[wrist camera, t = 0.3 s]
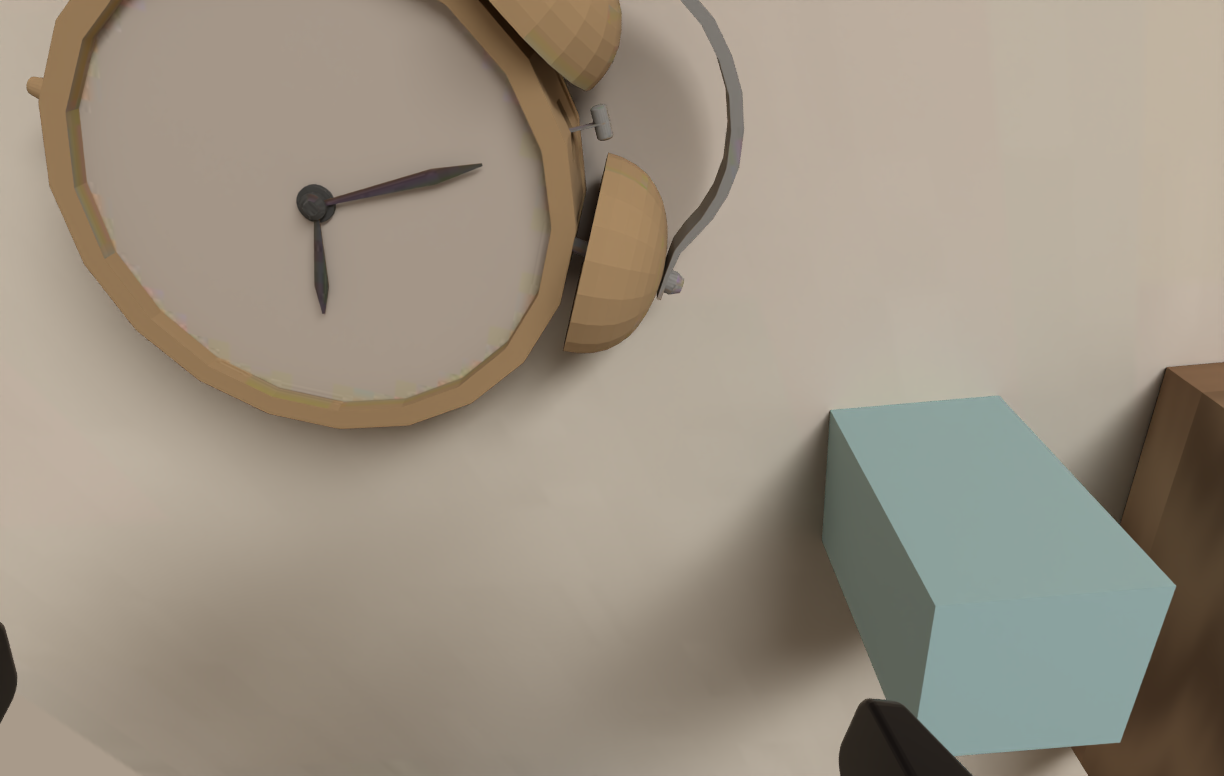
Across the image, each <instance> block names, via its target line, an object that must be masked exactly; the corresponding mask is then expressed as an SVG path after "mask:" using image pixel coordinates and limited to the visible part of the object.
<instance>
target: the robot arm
mask: <svg viewBox="0 0 1224 776" xmlns="http://www.w3.org/2000/svg"><path fill="white" fill-rule="evenodd" d="M16 687H17V672H16V668H15V664H14V660H13V656H12V653H11V649H10V645H9V641H8V637H7V633H6V630H5V627H4V625H3V624H2V623H1V622H0V723H1V721H2V719H3V717H4V715H5V713H6V711H7V710H8V708H9V706H10V703H11V702H12V699H13V697H14V694H15V691H16ZM839 770H840V776H972V774H971V773H970V772H969V771H968V770H967V769H966V768H965V767H964V766H963V765H962V764H961V763H960V762H959V761H958V760H957V759H956V758H955V757H954V756H953V755H952V754H951V753H950V752H949V751H948V750H947V749H946V748H945V747H944V746H943V745H942V744H941V742H940V741H939V740H938V739H937V738H936V737H935V736H934V735H933V734H932V733H931V732H930V731H929V730H928V729H927V728H926V727H925V726H924V725H923V724H922V723H921V722H920V721H919V720H918V719H917V718H916V717H915V716H914V715H913V714H912V713H911V712H910V711H909V709H908V708H906V707H905V706H904V705H903V704H901V703H899V702H897V701H892V700H881V699H870V698H869V699H865V700H864V701H862V702H861V703H860V704H859V706H858V708H857V710H856V712H855V715H854V717H853V719H852V721H851V723H850V726H849V728H848V730H847V732H846V735H845V737H844V739H843V741H842V744H841V747H840V751H839Z"/></svg>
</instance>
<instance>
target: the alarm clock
mask: <svg viewBox="0 0 1224 776" xmlns="http://www.w3.org/2000/svg"><path fill="white" fill-rule="evenodd" d="M681 1H682V3H683V4H684V5H685V6H686V7H687V8H688V10H689V11H690V12H691V13H692V14H693V15H694V17H695V18H696V19H697V20H698V21H699V22H700V24H701V25H702V27H703V29H704V31H705V33H706V35H707V37H708V39H709V41H710V43H711V45H712V47H713V49H714V51H715V53H716V56H717V59H718V63H719V66H720V70H721V73H722V77H723V80H724V84H725V88H726V102H727V120H728V123H727V132H726V140H725V148H724V156H723V160H722V162H721V165H720V168H719V170H718V173H717V176H716V178H715V181H714V183H713V185H712V187H711V188H710V190H709V192H708V193H707V195H706V196H705V198H704V200H703V201H702V203H701V204H700V206H699V207H698V208H697V209H696V210H695V212H694V213H693V214H692V215H691V216H690V217H689V218H688V219H687V220H686V221H685V223H684V224H683V225H682V227H681V228H680V229H679V231H678V232H677V234H676V235H675V236H674V238H673V240H672V243H671V246H670V248H669V251H668V253H667V256H666V252H667V220H666V213H665V209H664V205H663V201H662V198H661V196H660V194H659V192H658V190H657V188H656V186H655V184H654V183H653V182H652V180H651V179H650V177H649V176H648V175H647V174H646V173H645V172H644V171H643V170H642V169H641V168H639V167H638V166H637V165H636V164H634V163H632V162H630V161H628V160H626V159H625V158H623V157H620V156H617V155H614V154H611V153H608V156H607V159H606V164H605V168H604V172H603V176H602V180H601V184H600V189H599V191H600V194H599V199H598V203H597V208H596V212H595V217H594V221H593V226H592V230H591V234H590V239H589V242H586V241H584V240H581V239H579V238H576V235H577V231H578V226H579V222H580V217H581V212H582V208H583V203H584V199H585V194H586V180H585V170H584V160H583V151H582V141H581V131H580V130H583V129H587V128H591V127H595V130H596V135H597V139H598V140H600V141H605V140H608V139H610V138H612V137H613V132H612V128H611V123H610V119H609V115H608V111H607V107H606V105H603V104H600V105H596V106H594V107H592V108H591V114H592V118H593V123H589V124H585V125H581V126H580V121H579V115H578V112H577V110H576V107H575V105H574V103H573V100H572V98H571V96H570V93H569V91H568V89H567V86H566V84H565V82H564V79H563V77H565V78H566V79H567V80H568V81H569V82H571V83H572V84H574V85H575V86H577V87H579V88H581V89H583V90H584V91H588V90H591V89H592V88H593V87H594V86H595V85H596V84H597V83H598V82H599V81H600V80H601V79H602V77H603V76H604V75H605V73H606V72H607V70H608V68H609V67H610V65H611V64H612V62H613V60H614V57H615V55H616V52H617V50H618V47H619V43H620V36H621V8H620V3H619V0H70V1H69V2H68V4H67V5H66V6H65V8H64V9H63V11H62V12H61V14H60V15H59V16H58V18H57V19H56V22H55V26H54V31H53V36H52V41H51V45H50V50H49V55H48V59H47V64H46V69H45V73H44V78H39V77H31V78H30V79H29V80H28V82H27V91H28V93H29V94H31V95H33V96H34V97H36V98H38V99H39V110H40V117H41V125H42V133H43V140H44V148H45V155H46V163H47V170H48V178H49V185H50V188H51V190H52V193H53V195H54V197H55V199H56V202H57V204H58V206H59V208H60V211H61V213H62V215H63V217H64V220H65V222H66V224H67V226H68V229H69V231H70V233H71V235H72V238H73V240H74V242H75V245H76V247H77V249H78V251H79V254H80V256H81V258H82V260H83V263H84V264H85V266H86V267H87V268H88V270H89V271H90V272H91V273H92V275H93V276H94V277H95V278H96V280H97V281H98V282H99V284H100V285H101V286H102V287H103V289H104V290H105V291H106V292H107V294H108V295H109V296H110V298H111V299H112V300H113V301H114V303H115V304H116V305H117V306H118V308H119V309H120V310H121V312H122V313H123V314H124V315H125V317H126V318H127V319H128V320H129V322H130V323H131V324H132V326H133V327H134V328H135V329H136V330H137V331H138V332H139V333H140V334H142V335H143V336H144V337H145V338H147V339H148V340H149V341H150V342H152V343H153V344H154V345H155V346H157V347H158V348H159V349H160V350H162V351H163V352H164V353H165V354H167V355H168V356H169V357H170V358H172V359H173V360H174V361H175V362H177V363H178V364H179V365H180V366H182V367H183V368H184V369H185V370H187V371H188V372H189V373H190V374H192V375H193V376H194V377H195V378H197V379H198V380H199V381H201V382H204V383H206V384H208V385H210V386H212V387H214V388H216V389H218V390H220V391H222V392H224V393H226V394H228V395H231V396H233V397H235V398H237V399H239V400H241V401H243V402H245V403H247V404H249V405H251V406H253V407H256V408H258V409H260V410H262V411H264V412H266V413H268V414H272V415H277V416H282V417H286V418H291V419H296V420H300V421H305V422H310V423H314V424H319V425H324V426H328V427H333V428H338V429H348V428H369V427H389V426H409V425H412V424H414V423H417V422H420V421H423V420H426V419H429V418H431V417H434V416H437V415H440V414H443V413H446V412H448V411H451V410H454V409H457V408H460V407H462V406H465V405H468V404H471V403H472V402H474V401H475V400H476V399H478V398H479V397H480V396H481V395H483V394H484V393H485V392H487V391H488V390H489V389H490V388H492V387H493V386H494V385H495V384H497V383H498V382H499V381H501V380H502V379H503V378H504V377H506V376H507V375H508V374H509V373H511V372H512V371H513V370H515V369H516V368H517V367H518V366H520V365H521V364H522V363H523V362H524V361H525V359H526V358H527V356H528V355H529V353H530V351H531V350H532V348H533V347H534V345H535V343H536V342H537V340H538V339H539V337H540V335H541V334H542V332H543V331H544V329H545V327H546V326H547V324H548V323H549V321H550V319H551V318H552V316H553V315H554V313H555V311H556V310H557V308H558V307H559V305H560V303H561V299H562V294H563V289H564V285H565V280H566V276H567V271H568V267H569V262H570V261H571V258H572V254H573V253H576V254H578V255H581V256H584V257H585V261H584V263H582V267H581V271H580V275H579V280H578V284H577V289H576V293H575V298H574V302H573V307H572V311H571V316H570V320H569V325H568V329H567V334H566V338H565V343H564V348H563V351H568V352H575V353H594V352H598V351H603V350H607V349H609V348H611V347H613V346H615V345H617V344H619V343H620V342H622V341H623V340H624V339H626V338H627V337H629V336H630V335H631V333H632V332H633V331H634V330H635V329H636V328H637V327H638V325H639V324H640V322H641V321H642V320H643V318H644V317H645V315H646V313H647V312H648V310H649V308H650V306H651V304H652V302H653V300H654V298H655V295H656V293H657V299H658V300H661V298H662V295H663V292H664V293H667V294H676V293H680V291H681V289H682V287H683V283H684V279H683V278H682V276H681V275H680V274H679V273H678V272H676V271H674V270H673V268H674V266H675V264H676V262H677V259H678V257H679V255H680V253H681V252H682V251H683V250H684V249H685V248H686V247H687V246H688V245H689V244H690V243H691V242H692V241H693V240H694V239H695V238H696V237H697V236H698V235H699V234H700V232H701V231H702V230H703V229H704V228H705V227H706V226H707V225H708V224H709V223H710V222H711V221H712V219H713V218H714V216H715V215H716V213H717V212H718V210H719V209H720V207H721V206H722V204H723V202H724V201H725V199H726V198H727V196H728V194H729V191H730V189H731V186H732V184H733V181H734V179H735V176H736V173H737V171H738V168H739V164H740V156H741V149H742V141H743V133H744V120H743V97H742V90H741V86H740V83H739V79H738V75H737V72H736V68H735V65H734V61H733V57H732V55H731V53H730V51H729V48H728V46H727V44H726V42H725V40H724V38H723V36H722V34H721V32H720V30H719V28H718V26H717V24H716V21H715V19H714V18H713V17H712V15H711V14H710V13H709V12H708V10H707V9H706V8H705V7H704V6H703V5H702V3H701V2H700V1H699V0H681ZM562 76H563V77H562Z"/></svg>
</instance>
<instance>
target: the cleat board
mask: <svg viewBox="0 0 1224 776" xmlns="http://www.w3.org/2000/svg"><path fill="white" fill-rule="evenodd" d="M1120 526H1121V527H1122V528H1123V529H1124V530H1125V531H1126V532H1127V534H1128V535H1129V536H1130V537H1131V538H1132V539H1133V540H1134V541H1135V542H1136V543H1137V544H1138V545H1139V546H1140V547H1141V549H1142V550H1143V551H1144V552H1145V553H1146V554H1147V555H1148V556H1149V557H1150V558H1151V559H1152V560H1153V561H1154V563H1155V564H1156V565H1157V566H1158V567H1159V568H1160V569H1161V570H1162V571H1163V572H1164V573H1165V574H1166V575H1167V576H1168V578H1169V579H1170V580H1171V581H1172V582H1173V583H1174V584H1175V585H1176V588H1175V591H1174V594H1173V597H1172V599H1171V602H1170V605H1169V608H1168V611H1167V613H1166V616H1165V619H1164V622H1163V625H1162V627H1161V630H1160V633H1159V636H1158V638H1157V641H1156V644H1155V647H1154V650H1153V652H1152V655H1151V658H1150V661H1149V664H1148V666H1147V669H1146V672H1145V675H1144V677H1143V680H1142V683H1141V686H1140V689H1139V691H1138V694H1137V697H1136V700H1135V703H1134V705H1133V708H1132V711H1131V714H1130V717H1129V719H1128V722H1127V725H1126V728H1125V730H1124V733H1123V736H1122V739H1121V742H1120V743H1108V744H1096V745H1084V746H1071V748H1072V750H1073V751H1074V753H1075V755H1076V756H1077V758H1078V760H1079V761H1080V763H1081V764H1082V766H1083V768H1084V769H1085V771H1086V773H1087V774H1088V776H1224V362H1222V363H1210V364H1199V365H1187V366H1176V367H1167V369H1166V372H1165V375H1164V379H1163V382H1162V385H1161V389H1160V392H1159V396H1158V399H1157V402H1156V406H1155V409H1154V412H1153V416H1152V419H1151V423H1150V426H1149V429H1148V433H1147V436H1146V439H1145V443H1144V446H1143V450H1142V453H1141V456H1140V460H1139V463H1138V466H1137V470H1136V473H1135V477H1134V480H1133V483H1132V487H1131V490H1130V493H1129V497H1128V500H1127V504H1126V507H1125V510H1124V514H1123V517H1122V520H1121V524H1120Z"/></svg>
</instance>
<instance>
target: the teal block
mask: <svg viewBox="0 0 1224 776" xmlns="http://www.w3.org/2000/svg"><path fill="white" fill-rule="evenodd" d="M822 542H823V545H824V547H825V550H826V552H827V555H828V557H829V559H830V562H831V564H832V567H833V569H834V572H835V574H836V577H837V579H838V582H839V584H840V587H841V589H842V592H843V594H844V596H845V599H846V601H847V604H848V606H849V609H850V611H851V614H852V616H853V619H854V621H855V624H856V626H857V629H858V631H859V633H860V636H861V638H862V641H863V643H864V646H865V648H866V651H867V653H868V656H869V658H870V661H871V663H872V666H873V668H874V670H875V673H876V675H877V678H878V680H879V683H880V685H881V688H882V690H883V693H884V695H885V698H886V700H892V701H897V702H899V703H901V704H903V705H904V706H905V707H906V708H908V709H909V711H910V712H911V713H912V714H913V715H914V716H915V717H916V718H917V719H918V720H919V721H920V722H921V723H922V724H923V725H924V726H925V727H926V728H927V729H928V730H929V731H930V732H931V733H932V734H933V735H934V736H935V737H936V738H937V739H938V740H939V741H940V742H941V744H942V745H943V746H944V747H945V748H946V749H947V750H948V751H949V752H950V753H951V754H952V755H953V756H962V755H974V754H986V753H998V752H1010V751H1023V750H1035V749H1047V748H1059V747H1071V746H1084V745H1096V744H1108V743H1120V742H1121V739H1122V736H1123V733H1124V730H1125V728H1126V725H1127V722H1128V719H1129V717H1130V714H1131V711H1132V708H1133V705H1134V703H1135V700H1136V697H1137V694H1138V691H1139V689H1140V686H1141V683H1142V680H1143V677H1144V675H1145V672H1146V669H1147V666H1148V664H1149V661H1150V658H1151V655H1152V652H1153V650H1154V647H1155V644H1156V641H1157V638H1158V636H1159V633H1160V630H1161V627H1162V625H1163V622H1164V619H1165V616H1166V613H1167V611H1168V608H1169V605H1170V602H1171V599H1172V597H1173V594H1174V591H1175V588H1176V585H1175V584H1174V583H1173V582H1172V581H1171V580H1170V579H1169V578H1168V576H1167V575H1166V574H1165V573H1164V572H1163V571H1162V570H1161V569H1160V568H1159V567H1158V566H1157V565H1156V564H1155V563H1154V561H1153V560H1152V559H1151V558H1150V557H1149V556H1148V555H1147V554H1146V553H1145V552H1144V551H1143V550H1142V549H1141V547H1140V546H1139V545H1138V544H1137V543H1136V542H1135V541H1134V540H1133V539H1132V538H1131V537H1130V536H1129V535H1128V534H1127V532H1126V531H1125V530H1124V529H1123V528H1122V527H1121V526H1120V525H1119V524H1118V523H1117V522H1116V521H1115V520H1114V519H1113V517H1112V516H1111V515H1110V514H1109V513H1108V512H1107V511H1106V510H1105V509H1104V508H1103V507H1102V506H1101V505H1100V503H1099V502H1098V501H1097V500H1096V499H1095V498H1094V497H1093V496H1092V495H1091V494H1090V493H1089V492H1088V491H1087V490H1086V488H1085V487H1084V486H1083V485H1082V484H1081V483H1080V482H1079V481H1078V480H1077V479H1076V478H1075V477H1074V476H1073V475H1072V473H1071V472H1070V471H1069V470H1068V469H1067V468H1066V467H1065V466H1064V465H1063V464H1062V463H1061V462H1060V461H1059V460H1058V458H1057V457H1056V456H1055V455H1054V454H1053V453H1052V452H1051V451H1050V450H1049V449H1048V448H1047V447H1046V446H1045V444H1044V443H1043V442H1042V441H1041V440H1040V439H1039V438H1038V437H1037V436H1036V435H1035V434H1034V433H1033V432H1032V431H1031V429H1030V428H1029V427H1028V426H1027V425H1026V424H1025V423H1024V422H1023V421H1022V420H1021V419H1020V418H1019V417H1018V416H1017V414H1016V413H1015V412H1014V411H1013V410H1012V409H1011V408H1010V407H1009V406H1008V405H1007V404H1006V403H1005V402H1004V400H1003V399H1002V398H1001V397H1000V396H988V397H976V398H965V399H953V400H942V401H930V402H919V403H907V404H896V405H884V406H873V407H861V408H850V409H838V410H830V422H829V438H828V454H827V470H826V486H825V501H824V517H823V533H822Z"/></svg>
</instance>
